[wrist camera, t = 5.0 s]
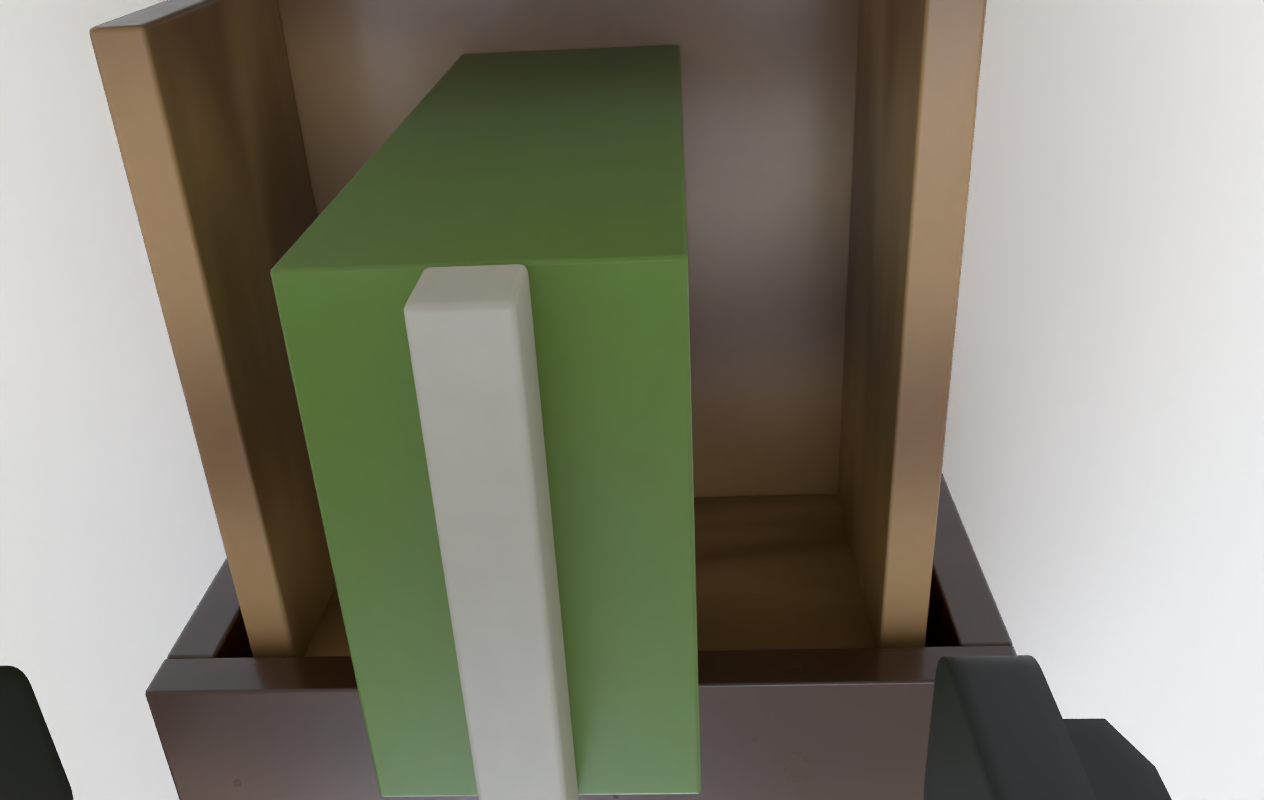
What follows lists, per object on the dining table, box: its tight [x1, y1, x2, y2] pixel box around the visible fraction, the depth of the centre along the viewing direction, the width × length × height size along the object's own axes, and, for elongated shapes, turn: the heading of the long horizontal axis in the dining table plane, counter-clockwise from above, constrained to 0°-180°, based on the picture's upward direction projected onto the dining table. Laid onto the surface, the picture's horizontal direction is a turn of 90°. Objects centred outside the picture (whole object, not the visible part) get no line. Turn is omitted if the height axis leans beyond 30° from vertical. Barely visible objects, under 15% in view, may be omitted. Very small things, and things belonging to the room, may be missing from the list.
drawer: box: [90, 0, 987, 657], centre depth 18 cm, size 20×14×7 cm
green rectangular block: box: [271, 45, 701, 800], centre depth 17 cm, size 7×4×12 cm, turn 3°
